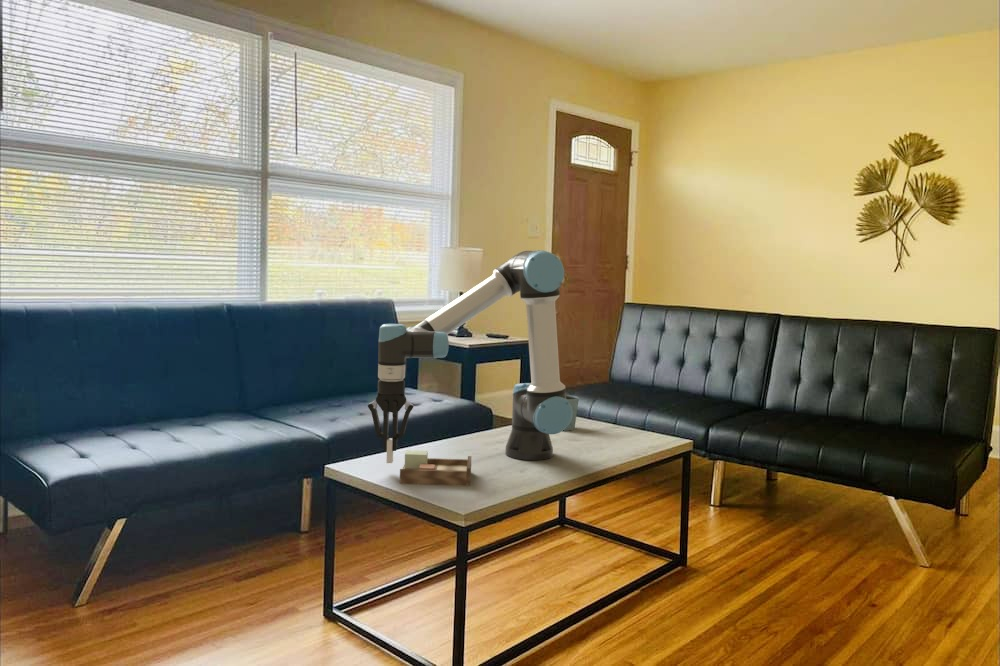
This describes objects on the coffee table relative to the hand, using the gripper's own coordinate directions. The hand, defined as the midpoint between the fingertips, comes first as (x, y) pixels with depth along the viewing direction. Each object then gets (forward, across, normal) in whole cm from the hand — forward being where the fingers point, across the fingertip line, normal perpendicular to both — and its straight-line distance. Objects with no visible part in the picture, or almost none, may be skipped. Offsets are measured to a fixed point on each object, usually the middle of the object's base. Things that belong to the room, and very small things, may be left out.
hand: (389, 461), depth 218 cm
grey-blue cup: (+4, +56, +67) cm, 88 cm away
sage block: (+1, +7, 0) cm, 7 cm away
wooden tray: (+4, +13, -3) cm, 14 cm away
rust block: (+3, +11, -6) cm, 13 cm away
